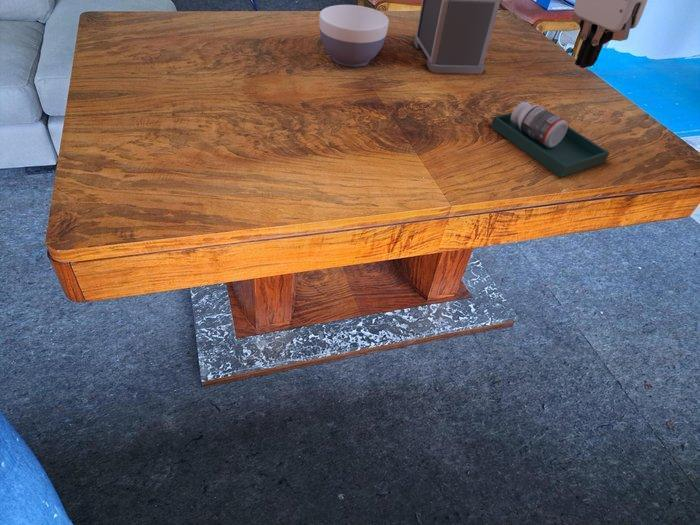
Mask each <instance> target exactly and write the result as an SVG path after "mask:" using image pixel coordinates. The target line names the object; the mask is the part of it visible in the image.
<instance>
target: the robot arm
mask: <svg viewBox="0 0 700 525" xmlns="http://www.w3.org/2000/svg"><path fill="white" fill-rule="evenodd" d="M648 1H649V0H575V1H574V4H573V14H572V16H571V17H572V18H571V19H572V21H573V22H575V23H576V25H578V26H579V29H580V32H581V33H580V40H581V44H580V47H579V48H578V51H577V54H576V58H575V63H574V65H575V66H577V67H579V68H581V69H585V68H590V67H594V65H595V64H596V62H597V61H598V59H599V56H600V54H601V51H602V49H603V46H604V45H607V44H608V43H609V42H611V41H616V42H622V41H627V40H628V39H629V35H630V31H631V30H632V29H636V28H637V26H638V25H639V23H640V21H641V18H642V16H643V13H644V12H645V9H646V6H647V3H648Z"/></svg>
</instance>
